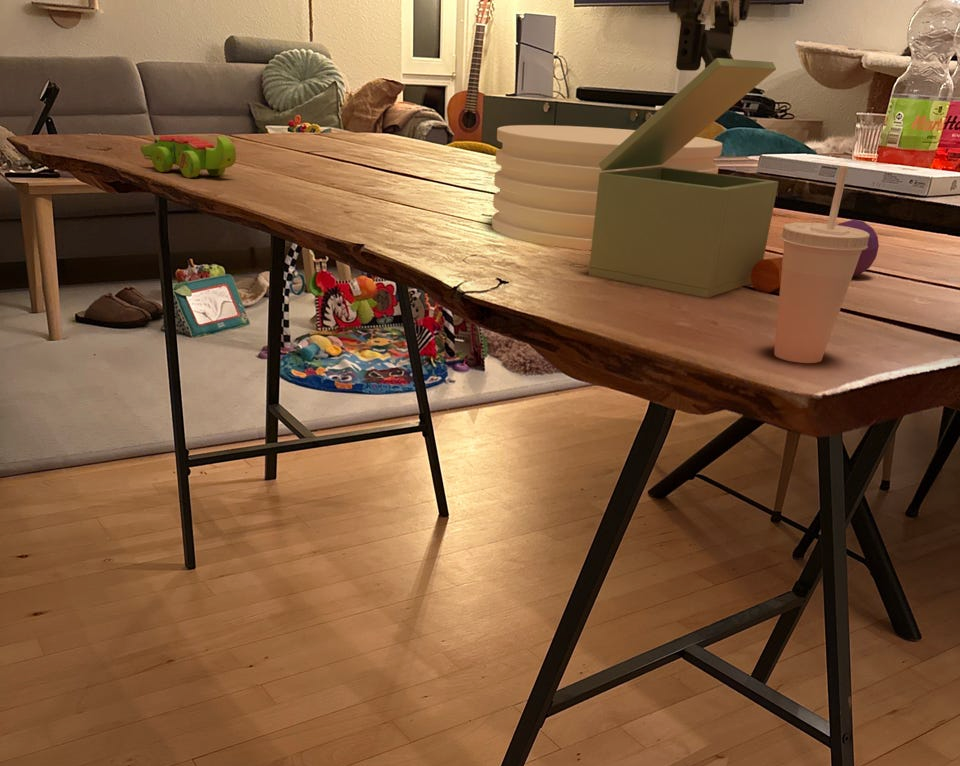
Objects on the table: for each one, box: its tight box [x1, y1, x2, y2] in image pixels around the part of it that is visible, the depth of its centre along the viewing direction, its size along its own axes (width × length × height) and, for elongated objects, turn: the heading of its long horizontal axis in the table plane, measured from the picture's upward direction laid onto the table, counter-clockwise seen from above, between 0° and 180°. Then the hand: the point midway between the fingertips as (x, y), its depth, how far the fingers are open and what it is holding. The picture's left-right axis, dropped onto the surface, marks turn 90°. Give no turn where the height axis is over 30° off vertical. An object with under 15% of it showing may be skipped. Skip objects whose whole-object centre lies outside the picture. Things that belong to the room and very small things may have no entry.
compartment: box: [588, 167, 779, 299], centre depth 100 cm, size 14×13×10 cm
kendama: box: [751, 219, 880, 294], centre depth 104 cm, size 6×6×20 cm
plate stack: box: [491, 124, 723, 251], centre depth 123 cm, size 28×28×12 cm
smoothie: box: [773, 165, 870, 364], centre depth 74 cm, size 6×6×14 cm
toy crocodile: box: [140, 135, 237, 179], centre depth 154 cm, size 20×7×6 cm, turn 50°
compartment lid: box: [599, 29, 777, 171], centre depth 95 cm, size 15×13×5 cm
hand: (702, 70), depth 93 cm, fingers closed on compartment lid, 5 cm apart
